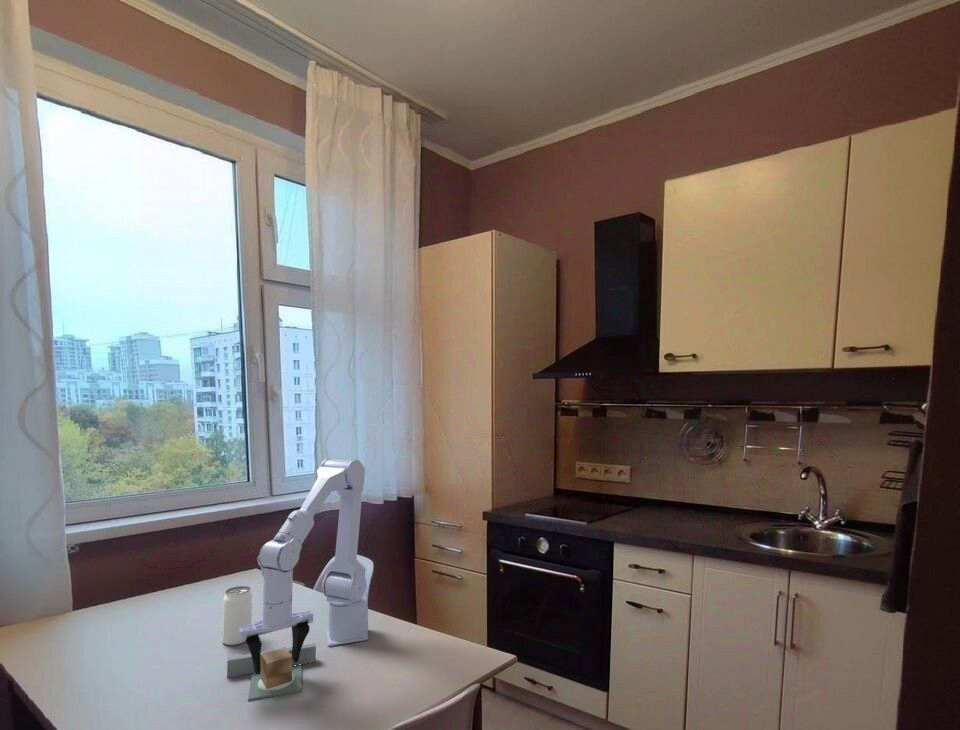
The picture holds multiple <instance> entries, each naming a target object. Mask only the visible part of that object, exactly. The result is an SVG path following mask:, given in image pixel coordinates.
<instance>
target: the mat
mask: <svg viewBox="0 0 960 730" xmlns="http://www.w3.org/2000/svg"><path fill="white" fill-rule="evenodd" d="M302 669H303V668H302V665H296V666H292V681H291V682H288V683H285V684H281V685H278V686H275V687H272V688H269V689H266V688H265V686H264V684H263V682H262V680H261V672H260V674H256V673H252V674H251V679H250V685H249V690H248V691H249V692H248V697H247V702H249V701H256V700H262V699H265V698H271V697H276V696H277V697H278V696H282V695H287V694H294V693H297V691H298V692H302V691H303V689H302V688H303V687H302V686H303V683H302V682H303V681H302V679H303V676H302V673H303V671H302Z"/></svg>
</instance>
